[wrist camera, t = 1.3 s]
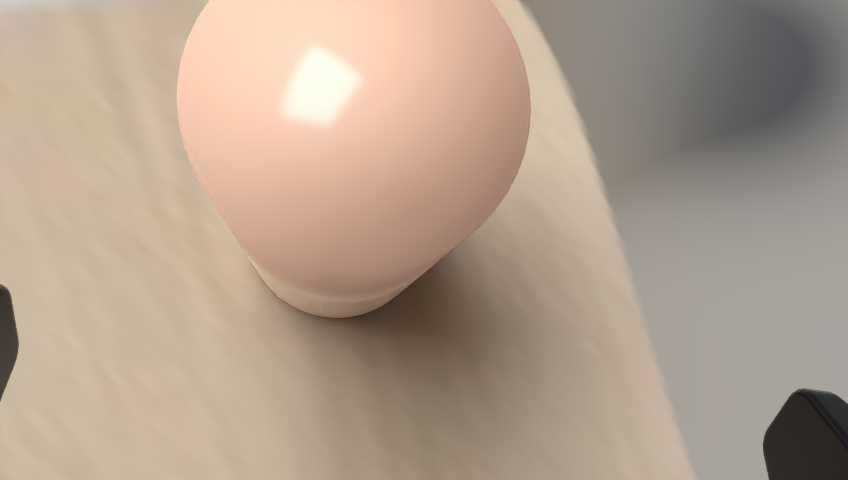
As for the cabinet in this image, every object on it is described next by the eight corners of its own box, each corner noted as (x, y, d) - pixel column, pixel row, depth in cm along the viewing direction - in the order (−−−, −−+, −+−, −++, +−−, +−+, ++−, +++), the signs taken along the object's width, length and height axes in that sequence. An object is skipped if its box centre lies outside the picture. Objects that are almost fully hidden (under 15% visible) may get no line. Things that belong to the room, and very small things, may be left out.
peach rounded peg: (424, 321, 22) (529, 280, 11) (240, 314, 21) (162, 263, 10) (429, 147, 23) (531, -48, 12) (252, 135, 22) (191, -84, 11)
